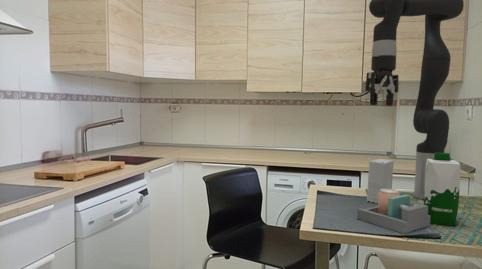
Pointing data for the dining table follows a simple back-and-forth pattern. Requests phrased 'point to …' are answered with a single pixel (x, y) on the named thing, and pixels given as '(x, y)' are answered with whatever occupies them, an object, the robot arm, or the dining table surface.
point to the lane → (408, 223)
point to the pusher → (398, 205)
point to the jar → (385, 199)
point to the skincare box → (379, 178)
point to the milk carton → (442, 189)
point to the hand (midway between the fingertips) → (381, 105)
